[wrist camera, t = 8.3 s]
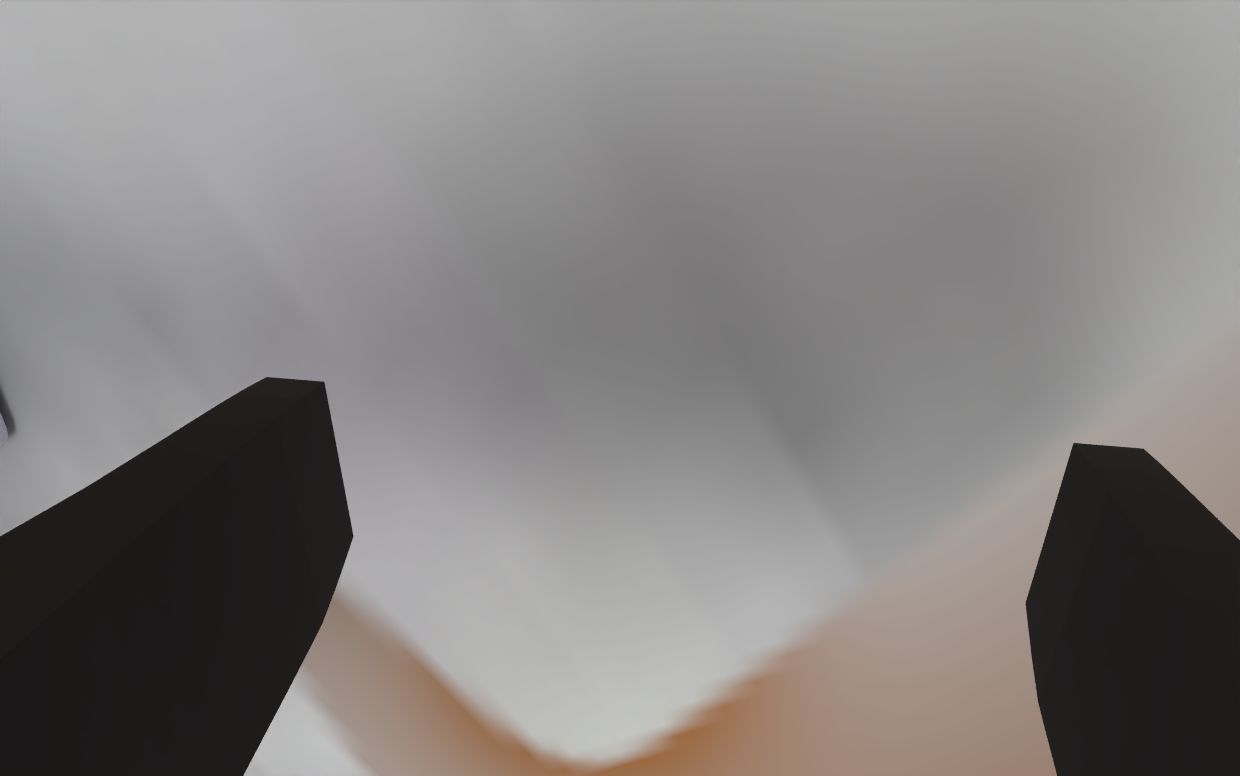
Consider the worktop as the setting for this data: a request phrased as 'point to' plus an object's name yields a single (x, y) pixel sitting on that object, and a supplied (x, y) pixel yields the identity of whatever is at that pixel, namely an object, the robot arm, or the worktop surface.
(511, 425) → the worktop surface
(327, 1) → the worktop surface
